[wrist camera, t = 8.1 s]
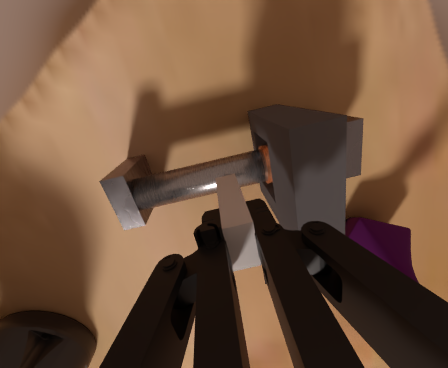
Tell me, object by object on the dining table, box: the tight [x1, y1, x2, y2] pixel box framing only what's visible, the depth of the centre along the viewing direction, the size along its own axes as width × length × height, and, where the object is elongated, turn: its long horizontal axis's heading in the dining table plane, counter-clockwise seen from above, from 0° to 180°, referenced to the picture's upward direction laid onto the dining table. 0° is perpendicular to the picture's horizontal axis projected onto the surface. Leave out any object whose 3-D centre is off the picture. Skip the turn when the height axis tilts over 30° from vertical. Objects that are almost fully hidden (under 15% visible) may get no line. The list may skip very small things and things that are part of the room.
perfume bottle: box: [345, 217, 419, 283], centre depth 22 cm, size 8×8×18 cm
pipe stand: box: [99, 116, 363, 230], centre depth 21 cm, size 22×5×7 cm, turn 102°
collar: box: [248, 104, 347, 235], centre depth 18 cm, size 3×9×12 cm, turn 12°
